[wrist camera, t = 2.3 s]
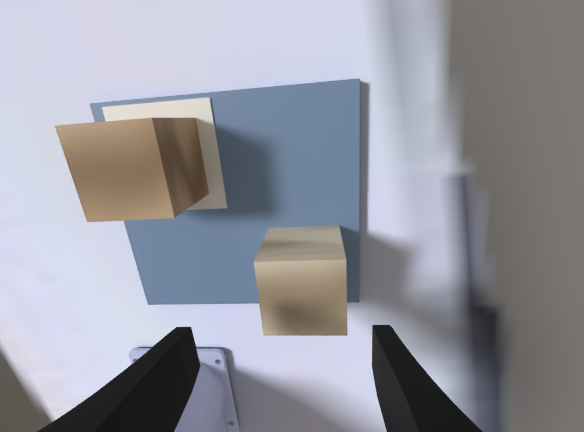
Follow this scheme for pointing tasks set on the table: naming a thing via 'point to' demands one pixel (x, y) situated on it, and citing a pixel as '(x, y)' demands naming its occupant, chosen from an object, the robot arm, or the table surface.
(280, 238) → the maple block
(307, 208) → the board
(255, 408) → the table surface
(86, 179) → the oak block
